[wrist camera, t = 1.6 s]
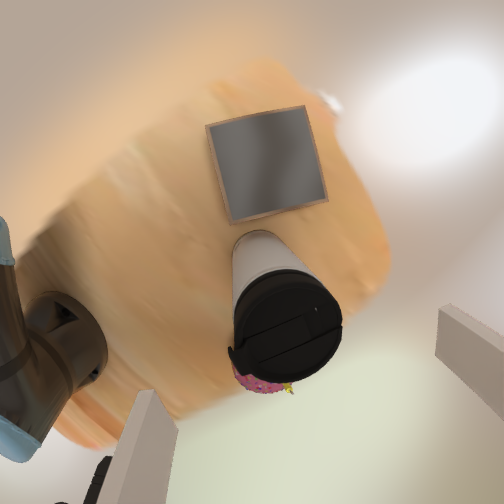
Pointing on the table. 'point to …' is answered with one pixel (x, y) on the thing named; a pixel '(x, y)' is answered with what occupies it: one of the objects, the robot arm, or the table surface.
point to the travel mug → (279, 312)
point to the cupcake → (260, 384)
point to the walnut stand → (266, 163)
